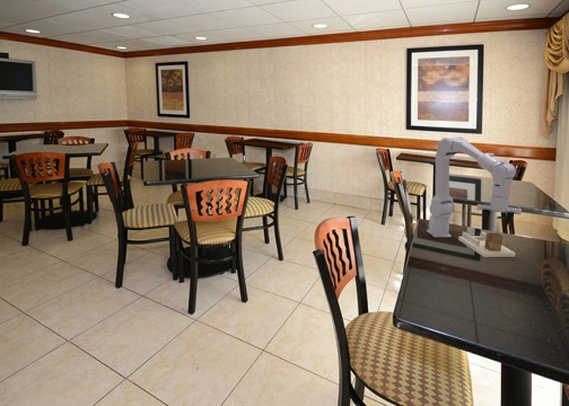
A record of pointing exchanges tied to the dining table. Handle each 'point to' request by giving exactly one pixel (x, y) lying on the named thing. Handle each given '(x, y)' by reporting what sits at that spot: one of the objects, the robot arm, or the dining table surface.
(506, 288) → the dining table surface
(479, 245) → the channel
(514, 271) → the dining table surface
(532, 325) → the dining table surface
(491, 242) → the walnut block
